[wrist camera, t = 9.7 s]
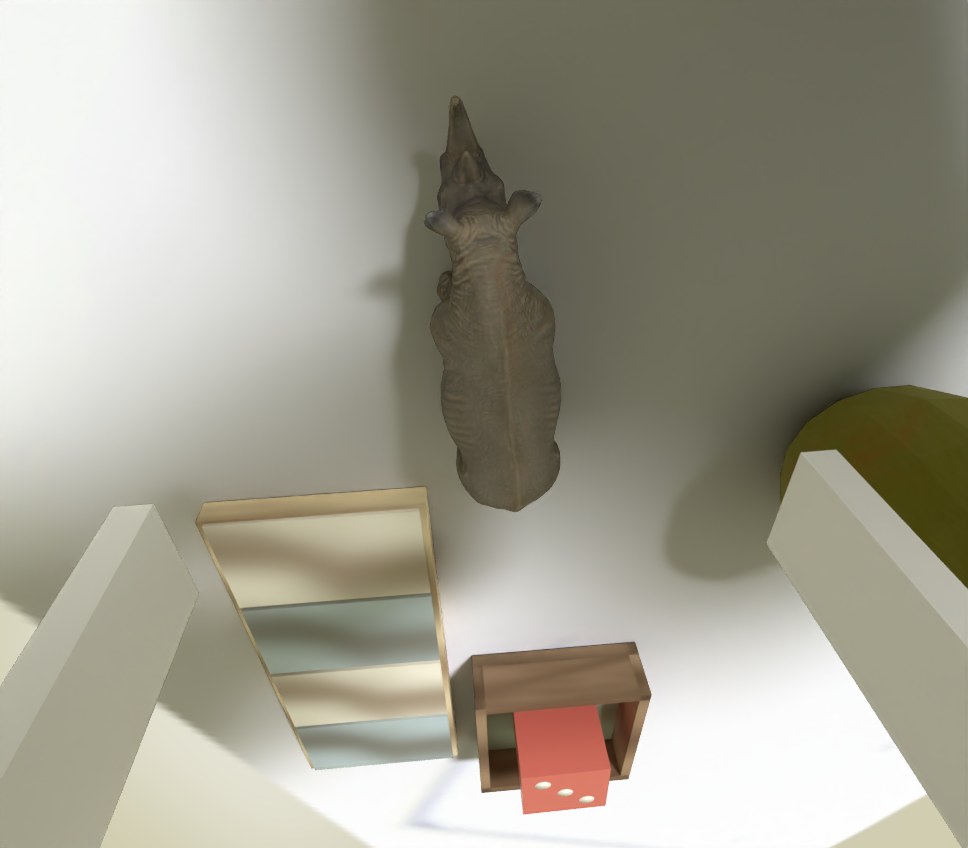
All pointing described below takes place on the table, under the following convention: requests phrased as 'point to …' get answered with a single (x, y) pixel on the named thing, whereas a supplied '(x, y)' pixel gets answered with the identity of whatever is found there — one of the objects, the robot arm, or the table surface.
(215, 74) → the table surface
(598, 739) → the die
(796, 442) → the apple
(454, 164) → the rhino figurine
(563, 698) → the dice tray
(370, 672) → the board
